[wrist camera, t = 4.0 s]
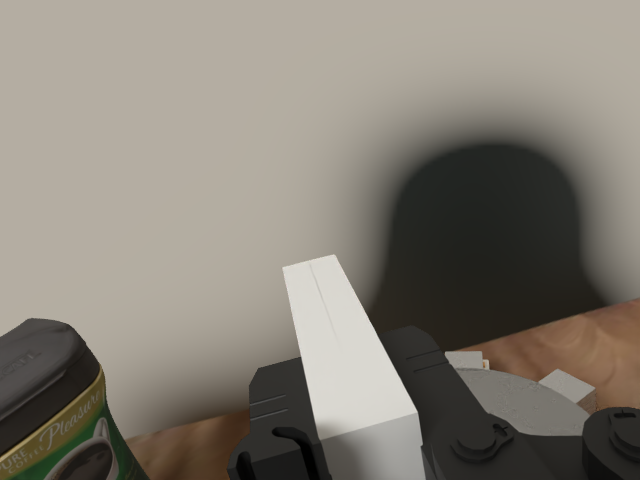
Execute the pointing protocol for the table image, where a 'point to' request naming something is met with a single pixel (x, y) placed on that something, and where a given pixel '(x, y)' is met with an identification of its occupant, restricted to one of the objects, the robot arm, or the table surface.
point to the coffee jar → (57, 409)
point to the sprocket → (528, 397)
